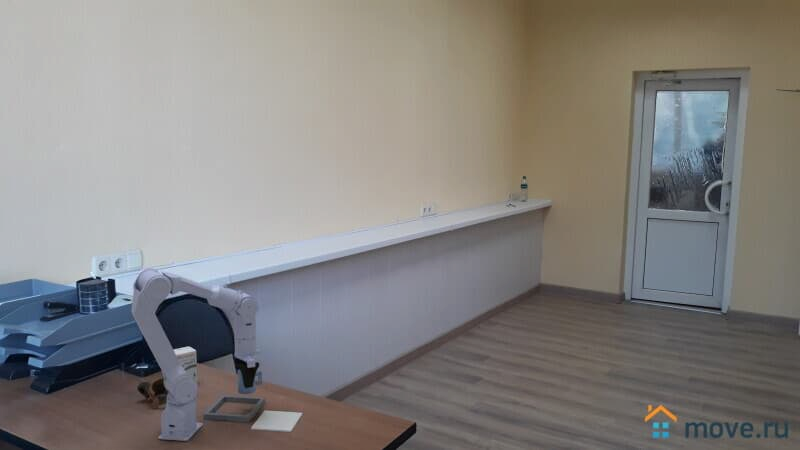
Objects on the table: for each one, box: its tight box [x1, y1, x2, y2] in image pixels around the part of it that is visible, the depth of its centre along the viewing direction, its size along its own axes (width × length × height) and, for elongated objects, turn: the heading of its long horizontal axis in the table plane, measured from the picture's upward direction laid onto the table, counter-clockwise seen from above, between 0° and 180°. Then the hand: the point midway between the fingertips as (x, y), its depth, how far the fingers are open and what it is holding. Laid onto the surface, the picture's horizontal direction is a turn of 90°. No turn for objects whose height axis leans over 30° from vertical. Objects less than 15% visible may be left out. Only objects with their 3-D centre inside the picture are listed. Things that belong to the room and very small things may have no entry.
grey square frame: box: [203, 394, 266, 423], centre depth 179 cm, size 13×13×2 cm
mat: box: [250, 410, 303, 433], centre depth 172 cm, size 11×11×1 cm
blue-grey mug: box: [237, 369, 263, 395], centre depth 176 cm, size 7×5×6 cm
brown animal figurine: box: [137, 377, 169, 409], centre depth 184 cm, size 12×9×8 cm
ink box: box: [173, 346, 198, 384], centre depth 195 cm, size 9×5×12 cm, turn 134°
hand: (246, 383), depth 176 cm, fingers closed on blue-grey mug, 5 cm apart
